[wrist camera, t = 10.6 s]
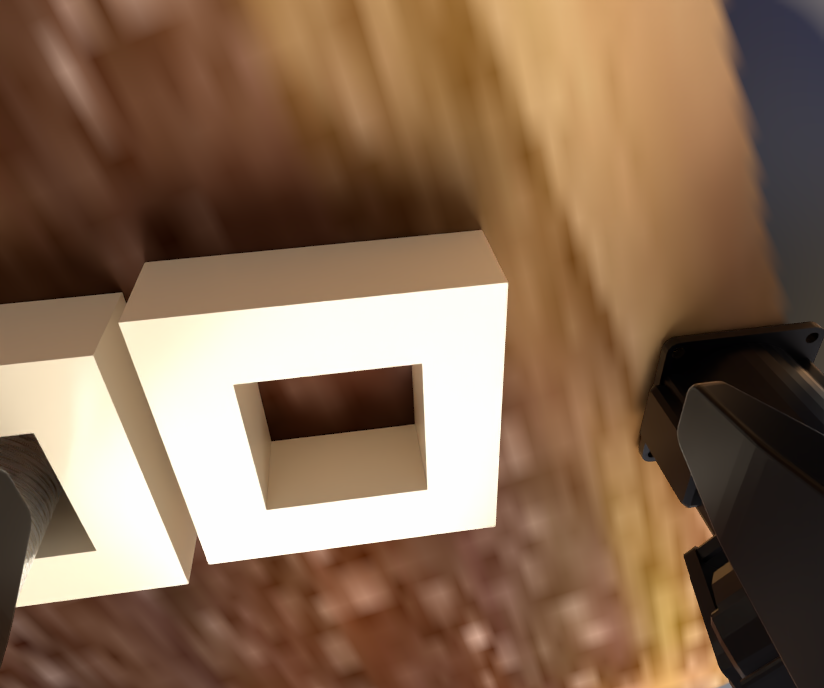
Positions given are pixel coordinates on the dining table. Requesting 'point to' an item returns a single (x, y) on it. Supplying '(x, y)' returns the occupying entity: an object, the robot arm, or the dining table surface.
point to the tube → (31, 486)
